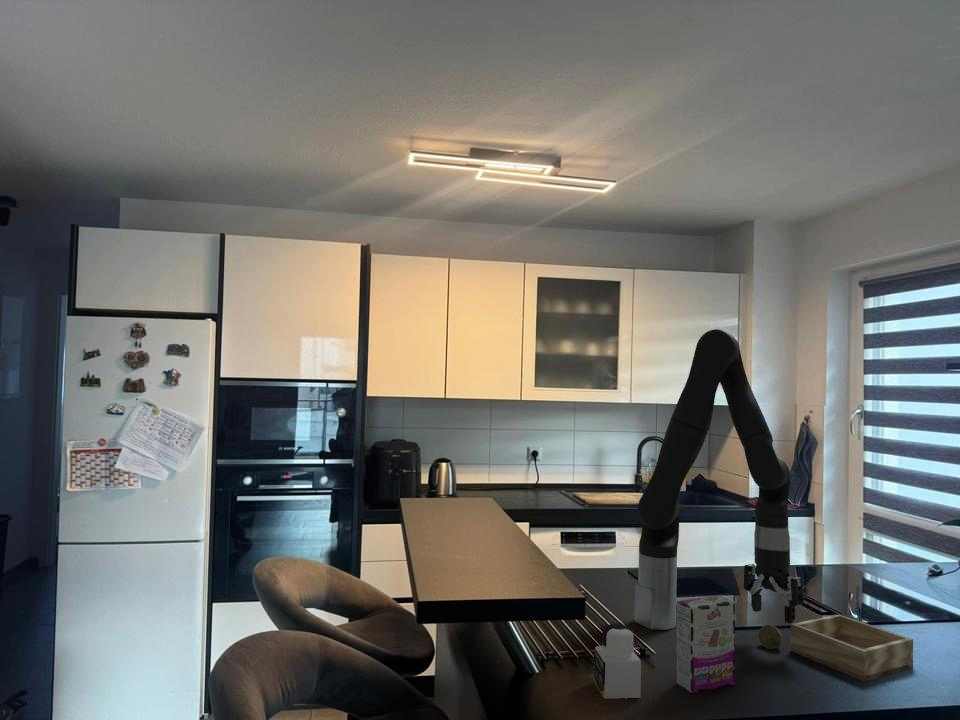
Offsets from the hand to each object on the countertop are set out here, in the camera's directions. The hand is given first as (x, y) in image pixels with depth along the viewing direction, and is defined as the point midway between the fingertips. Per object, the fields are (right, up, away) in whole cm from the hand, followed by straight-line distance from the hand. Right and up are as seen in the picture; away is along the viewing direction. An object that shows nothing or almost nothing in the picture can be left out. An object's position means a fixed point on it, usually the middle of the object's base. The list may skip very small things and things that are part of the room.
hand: (772, 616), depth 151 cm
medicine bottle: (-41, -5, -25) cm, 48 cm away
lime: (-1, -7, 0) cm, 7 cm away
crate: (+15, -7, -6) cm, 17 cm away
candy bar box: (-23, -6, -21) cm, 31 cm away
